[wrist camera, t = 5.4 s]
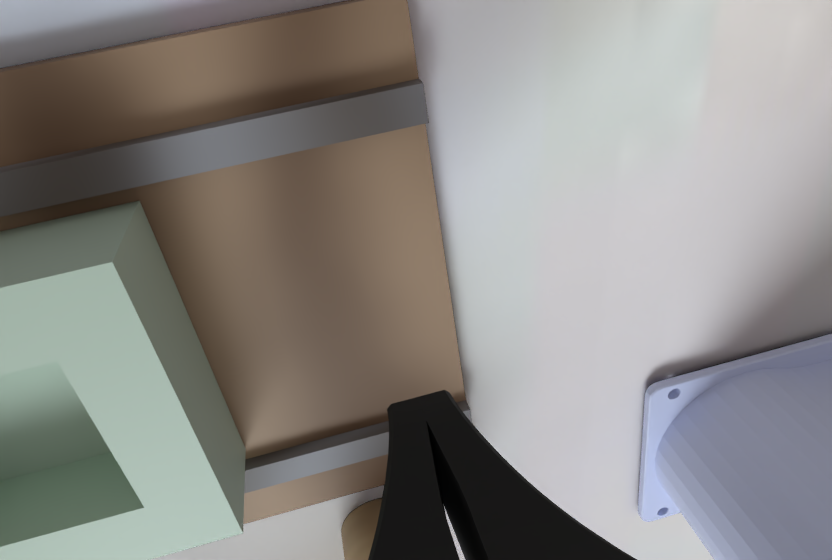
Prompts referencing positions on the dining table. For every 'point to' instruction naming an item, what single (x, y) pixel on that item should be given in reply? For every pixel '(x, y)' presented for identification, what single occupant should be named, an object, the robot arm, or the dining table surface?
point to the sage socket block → (107, 399)
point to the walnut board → (266, 219)
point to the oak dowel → (360, 530)
